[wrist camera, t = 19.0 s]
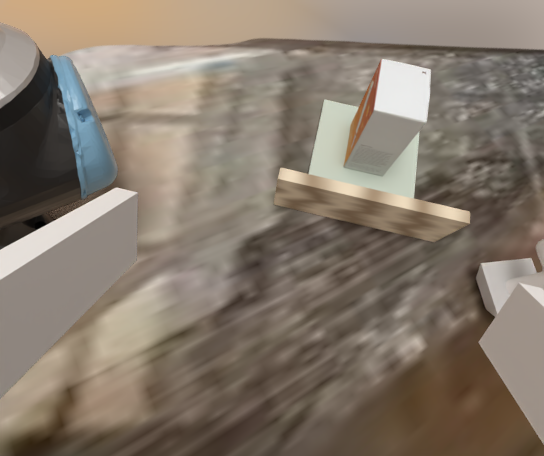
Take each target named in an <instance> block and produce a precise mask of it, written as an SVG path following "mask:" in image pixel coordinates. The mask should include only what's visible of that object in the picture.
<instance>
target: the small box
mask: <svg viewBox="0 0 544 456" xmlns="http://www.w3.org/2000/svg"><path fill="white" fill-rule="evenodd" d="M430 80H431V70H430V69H426V68H422V67H418V66H414V65H409V64H405V63H400V62H395V61H391V60H385V59H381V61H380V63H379V65H378V68H377V70H376V72H375V74H374V76H373V78H372V81H371V83H370V85H369V87H368V89H367V91H366V93H365V95H364V98H363V100H362V102H361V104H360V106H359V108H358V110H357V112H356V115H355V117H354V119H353V121H352V123H351V125H350V133H349V140H348V146H347V151H346V156H345V161H344V168H349V169H353V170H357V171H362V172H366V173H370V174H374V175H379V176H384V174H385V173H386V172H387V171H388V169H389V168H390V167H391V166H392V164H393V163H394V162H395V161H396V159H397V158H398V157H399V156H400V154H401V153H402V152H403V151H404V150H405V148H406V147H407V146H408V145H409V143H410V142H411V141H412V140H413V138H414V137H415V136H416V135H417V133H418V132H419V131H420V130H421V129H422V127H423V126H424V125H425V124H426V122H427V116H428V106H429V98H430Z"/></svg>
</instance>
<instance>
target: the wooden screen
mask: <svg viewBox="0 0 544 456" xmlns="http://www.w3.org/2000/svg"><path fill="white" fill-rule="evenodd" d="M274 205H278V206H282V207H286V208H291V209H295V210H299V211H303V212H308V213H312V214H316V215H320V216H325V217H329V218H333V219H337V220H342V221H346V222H350V223H354V224H359V225H363V226H367V227H371V228H376V229H380V230H384V231H388V232H393V233H397V234H401V235H405V236H410V237H414V238H418V239H422V240H427V241H431V242H435V241H437V240H439V239H441V238H443V237H445V236H447V235H449V234H451V233H453V232H455V231H457V230H458V229H460V228H462V227H464V226H466V225H468V224H470V212H469V211H465V210H460V209H456V208H452V207H447V206H443V205H439V204H435V203H430V202H426V201H422V200H417V199H413V198H409V197H405V196H400V195H396V194H392V193H387V192H383V191H379V190H375V189H370V188H366V187H362V186H357V185H353V184H349V183H345V182H340V181H336V180H332V179H327V178H323V177H319V176H315V175H310V174H306V173H302V172H297V171H293V170H289V169H285V168H280V172H279V176H278V181H277V187H276V193H275V199H274Z"/></svg>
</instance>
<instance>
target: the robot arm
mask: <svg viewBox="0 0 544 456" xmlns="http://www.w3.org/2000/svg"><path fill="white" fill-rule="evenodd" d="M117 174H118V167H117V163H116V160H115V157H114V155H113V152H112V149H111V147H110V144H109V142H108V139H107V137H106V134H105V132H104V129H103V127H102V124H101V122H100V120H99V117H98V115H97V113H96V110H95V108H94V106H93V104H92V101H91V99H90V97H89V94H88V92H87V90H86V88H85V86H84V84H83V81H82V79H81V77H80V75H79V73H78V71H77V69H76V68H75V66H74V65H73V62H72V61H71V59H70V58H68V57H66V56H56V55H55V56H53V55H51V56H50V58H48V59H46V58H45V56H44V55H43V54H42V52H41V51H40V50H39V48H38V46H37V45H36V43H35V42H34V41H33V40H32V39H31V38H30V36H29V35H28V34H27V33H25V32H23V31H22V30H20V29H18V28H15V27H13V26H10V25H7V24H3V23H0V399H1V398H2V397H3V396H4V395H5V394H6V393H7V392H8V390H9V389H10V388H11V387H12V386H13V385H14V384H15V383H16V382H17V381H18V380H19V379H20V378H21V377H22V376H23V375H24V374H25V373H26V372H27V371H28V370H29V369H30V368H31V367H32V366H33V365H34V364H35V363H36V362H37V361H38V360H39V359H40V358H41V357H42V356H43V355H44V354H45V353H46V352H47V351H48V350H49V349H50V348H51V347H52V346H53V345H54V344H55V343H56V342H57V341H58V340H59V339H60V338H61V337H62V336H63V335H64V334H65V333H66V332H67V331H68V330H69V329H70V328H71V327H72V326H73V325H74V324H75V322H76V321H77V320H78V319H79V318H80V317H81V316H82V315H83V314H84V313H85V312H86V311H87V310H88V309H89V308H90V307H91V306H92V305H93V304H94V303H95V302H96V301H97V300H98V299H99V298H100V297H101V296H102V295H103V294H104V293H105V292H106V291H107V290H108V289H109V288H110V287H111V286H112V285H113V284H114V283H115V282H116V281H117V280H118V279H119V278H120V277H121V276H122V275H123V274H124V273H125V272H126V271H127V270H128V269H129V268H130V267H131V266H132V265H133V264H134V263H135V262H136V261H137V223H138V192H133V191H129V190H125V189H121V188H117V187H116V188H114V189H112V190H111V191H109V192H107V193H105V194H103V195H101V196H99V197H98V198H96V199H94V200H92V201H90V202H88V203H86V204H85V205H83V206H81V207H79V208H77V209H75V210H73V211H71V212H70V213H68V214H66V215H64V216H62V217H60V218H58V219H57V220H55V221H54V220H53V219H52V217H51V216H49V215H48V214H47V212H49V211H52V210H54V209H57V208H60V207H62V206H65V205H68V204H70V203H73V202H75V201H78V200H81V199H85V198H87V196H88V195H90V194H92V193H94V192H96V191H98V190H100V189H103V188H105V187H107V186H109V185H110V184H111V183H113V181H114V180H115V179H116V177H117ZM479 344H480V346H481V347H482V349H483V350H484V352H485V353H486V355H487V357H488V358H489V360H490V361H491V363H492V364H493V366H494V367H495V369H496V371H497V372H498V374H499V375H500V377H501V378H502V380H503V382H504V383H505V385H506V386H507V388H508V389H509V391H510V392H511V394H512V396H513V397H514V399H515V400H516V402H517V403H518V405H519V407H520V408H521V410H522V411H523V413H524V414H525V416H526V418H527V419H528V421H529V422H530V424H531V425H532V427H533V428H534V430H535V432H536V433H537V435H538V436H539V438H540V439H541V441H542V443H543V444H544V290H543V289H542V288H539V287H535V286H531V285H526V284H522V283H518V284H517V286H516V287H515V289H514V290H513V292H512V293H511V295H510V296H509V298H508V299H507V301H506V302H505V304H504V305H503V307H502V308H501V310H500V311H499V313H498V314H497V316H496V317H495V319H494V320H493V321H492V323H491V324H490V326H489V327H488V329H487V330H486V332H485V333H484V335H483V336H482V338H481V339H480V341H479Z"/></svg>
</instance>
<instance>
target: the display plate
mask: <svg viewBox="0 0 544 456" xmlns="http://www.w3.org/2000/svg"><path fill="white" fill-rule="evenodd" d="M358 108H359V107H355V106H351V105H346V104H342V103H338V102H333V101H329V100H324V103H323V107H322V111H321V116H320V121H319V125H318V130H317V135H316V139H315V144H314V148H313V153H312V158H311V162H310V167H309V172H308V174H310V175H315V176H319V177H323V178H327V179H332V180H336V181H340V182H345V183H349V184H353V185H357V186H362V187H366V188H370V189H375V190H379V191H383V192H387V193H392V194H396V195H400V196H405V197H409V198H413V199H414V190H415V178H416V166H417V154H418V142H419V132H418V133H417V135H416V136H415V137H414V138H413V140H412V141H411V142H410V143H409V145H408V146H407V147H406V148H405V150H404V151H403V152H402V153H401V154H400V156H399V157H398V158H397V159H396V161H395V162H394V163H393V164H392V166H391V167H390V168H389V169H388V171H387V172H386V173H385V174H384V176H379V175H374V174H370V173H366V172H362V171H357V170H353V169H349V168H344V161H345V156H346V151H347V146H348V140H349V133H350V125H351V123H352V121H353V119H354V117H355V115H356V112H357V110H358Z"/></svg>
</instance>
